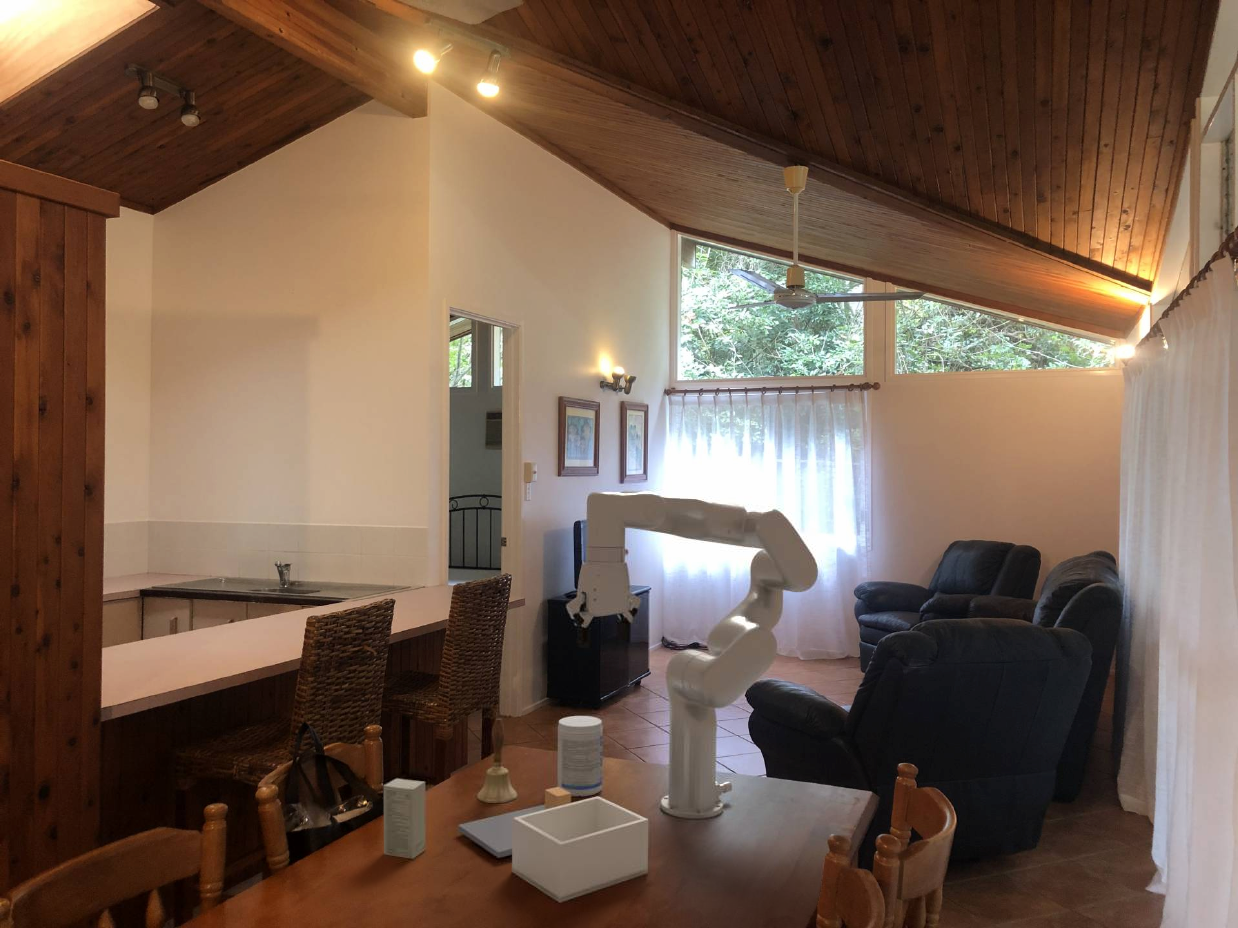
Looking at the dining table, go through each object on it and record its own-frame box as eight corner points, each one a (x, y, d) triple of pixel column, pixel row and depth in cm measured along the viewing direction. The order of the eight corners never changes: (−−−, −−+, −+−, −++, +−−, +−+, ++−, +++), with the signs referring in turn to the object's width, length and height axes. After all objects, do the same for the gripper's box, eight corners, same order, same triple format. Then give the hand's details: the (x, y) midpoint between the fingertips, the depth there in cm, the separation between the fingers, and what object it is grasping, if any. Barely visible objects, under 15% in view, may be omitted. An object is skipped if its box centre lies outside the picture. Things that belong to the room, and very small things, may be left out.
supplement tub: (610, 792, 194) (611, 723, 194) (571, 801, 188) (573, 729, 189) (586, 779, 202) (587, 712, 202) (548, 787, 197) (549, 718, 197)
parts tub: (597, 846, 165) (598, 795, 166) (647, 873, 154) (648, 819, 155) (511, 871, 154) (512, 817, 154) (559, 902, 143) (560, 844, 143)
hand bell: (470, 794, 191) (471, 717, 192) (504, 787, 196) (506, 712, 197) (489, 806, 185) (490, 726, 185) (524, 798, 190) (526, 720, 190)
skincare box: (426, 850, 162) (427, 781, 163) (412, 860, 158) (414, 789, 158) (395, 845, 165) (396, 776, 165) (381, 854, 160) (382, 784, 161)
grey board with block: (545, 815, 181) (545, 778, 181) (588, 839, 169) (589, 800, 169) (458, 836, 170) (458, 797, 170) (498, 864, 158) (498, 822, 158)
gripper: (627, 552, 185) (626, 637, 185) (557, 556, 174) (555, 646, 174) (652, 555, 179) (650, 643, 179) (580, 559, 169) (579, 652, 168)
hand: (604, 644), depth 177 cm, fingers open, 9 cm apart
